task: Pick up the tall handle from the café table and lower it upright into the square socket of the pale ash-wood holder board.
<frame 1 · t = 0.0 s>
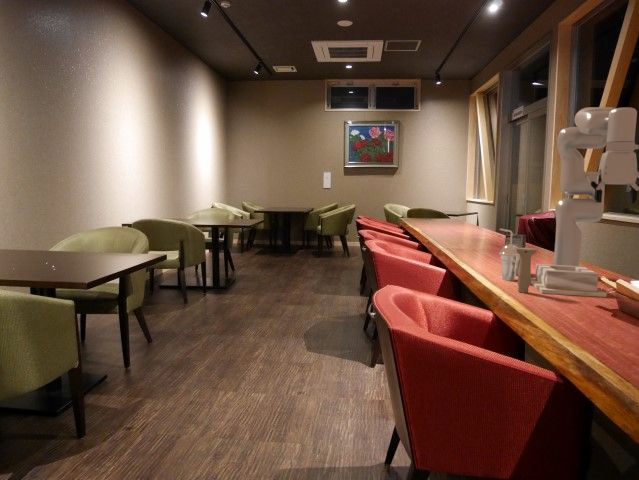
hand: (614, 202, 155), 31 cm above the table, tool pointing down, fingers open, 9 cm apart
cup with straw: (507, 280, 189), on the table
handle: (523, 292, 166), on the table
coffee box: (513, 273, 203), on the table
socket holder: (564, 288, 174), on the table
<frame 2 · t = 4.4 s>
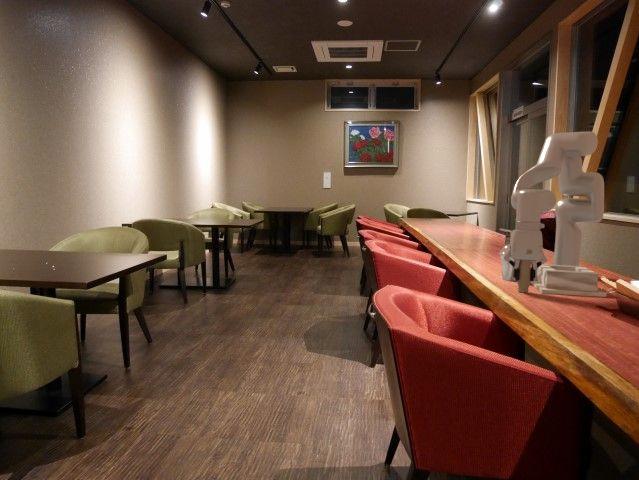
hand: (523, 279, 166), 4 cm above the table, tool pointing down, fingers closed on handle, 4 cm apart
handle: (523, 292, 166), on the table, touching gripper
everything else where it was.
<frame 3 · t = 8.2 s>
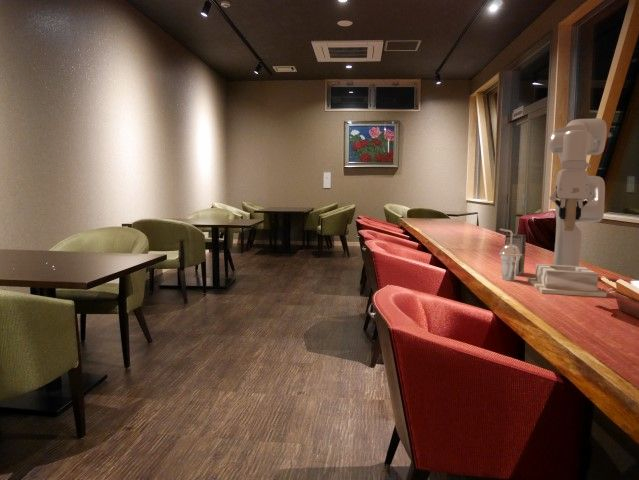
hand: (569, 218, 171), 25 cm above the table, tool pointing down, fingers closed on handle, 4 cm apart
handle: (568, 231, 171), point 20 cm above the table, touching gripper
everything else where it was.
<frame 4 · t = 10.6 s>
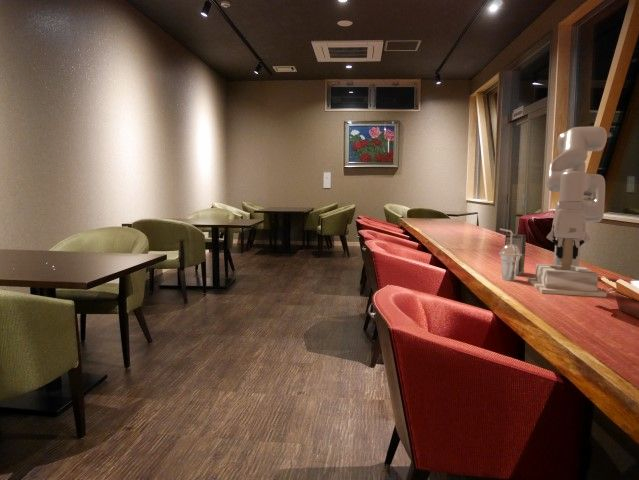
hand: (566, 257, 172), 11 cm above the table, tool pointing down, fingers closed on handle, 4 cm apart
handle: (565, 270, 173), point 7 cm above the table, touching gripper
everything else where it was.
when the fingers open (8 cm above the table, at t = 12.1 s): handle drops 2 cm, resting on socket holder.
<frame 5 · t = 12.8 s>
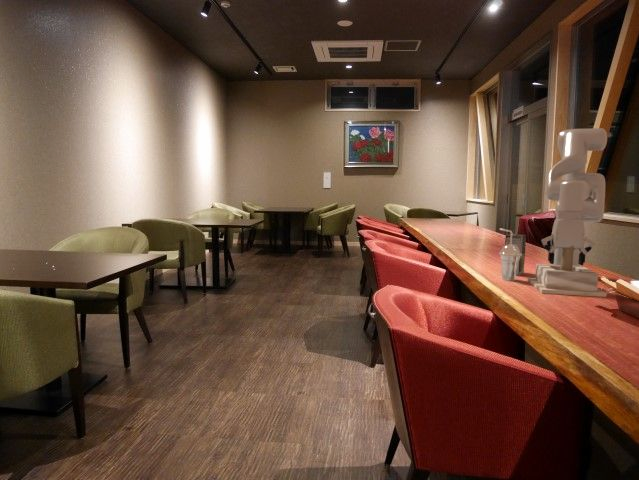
hand: (565, 264, 173), 9 cm above the table, tool pointing down, fingers open, 9 cm apart
handle: (564, 285, 174), point 1 cm above the table, touching socket holder
everything else where it was.
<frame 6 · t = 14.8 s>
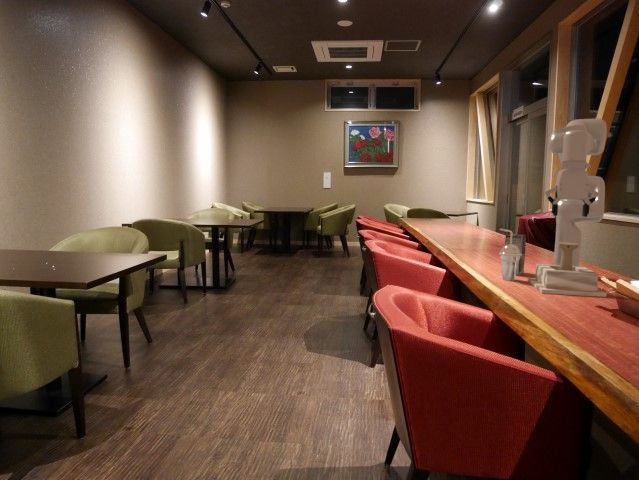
hand: (569, 216, 171), 26 cm above the table, tool pointing down, fingers open, 9 cm apart
nothing on the table moved.
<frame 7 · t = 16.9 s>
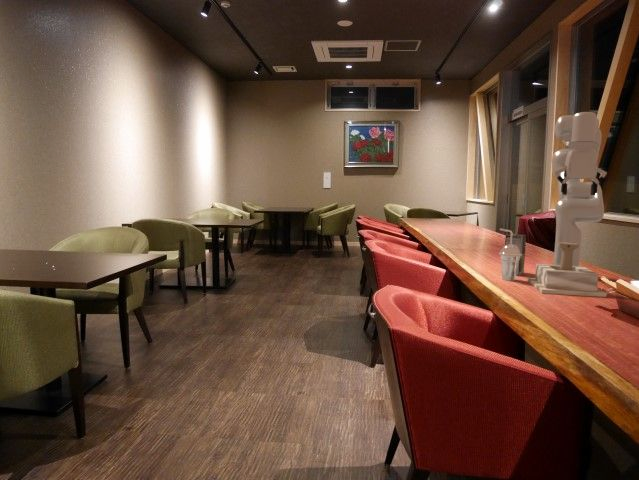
hand: (578, 194, 178), 33 cm above the table, tool pointing down, fingers open, 9 cm apart
nothing on the table moved.
at the end: handle 0.1 cm off-centre on the socket holder, point 1.0 cm above the socket holder's base; handle tilted 1°; the gripper is holding nothing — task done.
